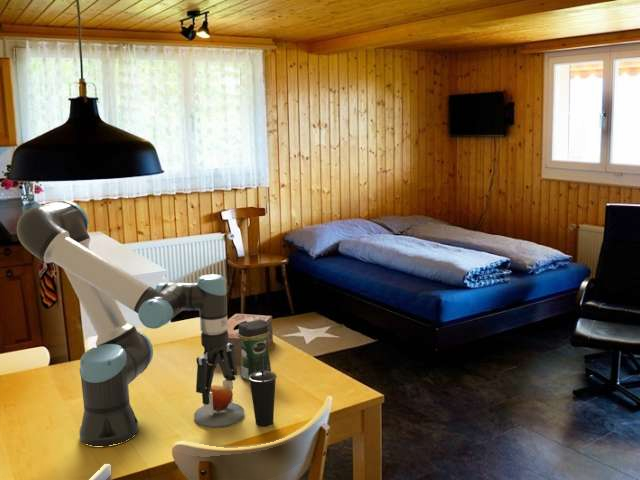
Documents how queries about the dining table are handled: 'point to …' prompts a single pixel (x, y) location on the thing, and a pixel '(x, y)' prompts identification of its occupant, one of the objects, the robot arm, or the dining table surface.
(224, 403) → the fruit
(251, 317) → the tissue box cover
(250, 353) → the coffee jar
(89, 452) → the dining table surface
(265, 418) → the drinking cup
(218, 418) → the slate plate
